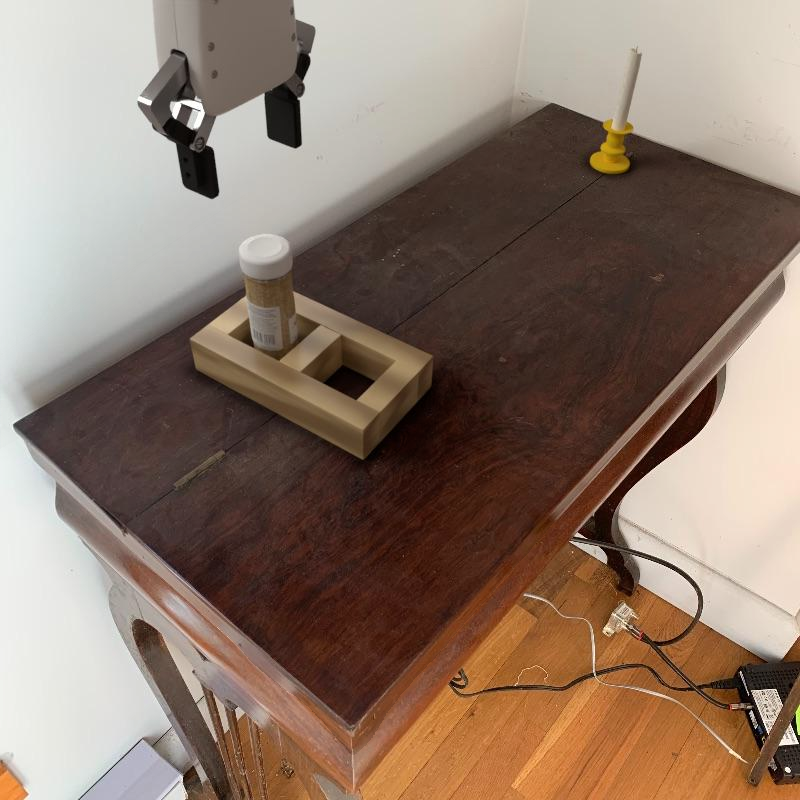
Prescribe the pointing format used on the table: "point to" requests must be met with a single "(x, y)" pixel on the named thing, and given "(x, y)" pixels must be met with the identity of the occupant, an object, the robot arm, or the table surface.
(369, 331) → the holder
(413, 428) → the table surface
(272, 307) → the sprinkles bottle
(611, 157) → the candle
